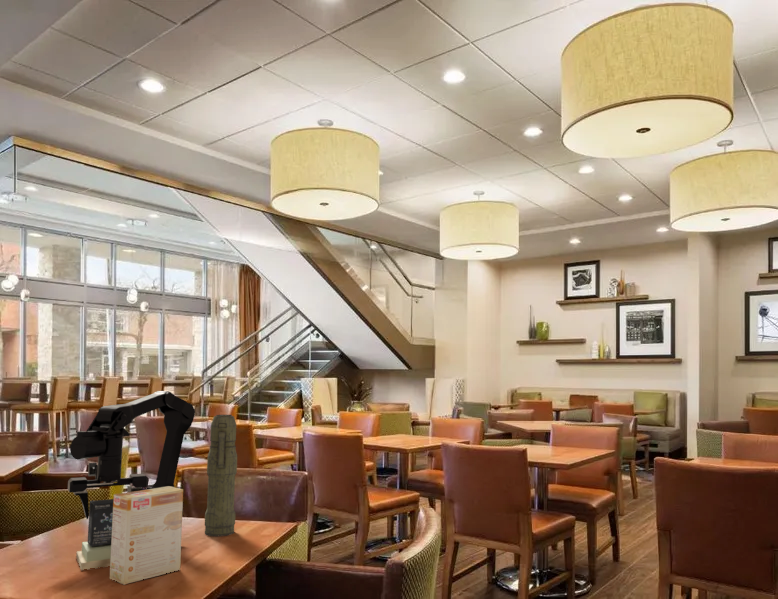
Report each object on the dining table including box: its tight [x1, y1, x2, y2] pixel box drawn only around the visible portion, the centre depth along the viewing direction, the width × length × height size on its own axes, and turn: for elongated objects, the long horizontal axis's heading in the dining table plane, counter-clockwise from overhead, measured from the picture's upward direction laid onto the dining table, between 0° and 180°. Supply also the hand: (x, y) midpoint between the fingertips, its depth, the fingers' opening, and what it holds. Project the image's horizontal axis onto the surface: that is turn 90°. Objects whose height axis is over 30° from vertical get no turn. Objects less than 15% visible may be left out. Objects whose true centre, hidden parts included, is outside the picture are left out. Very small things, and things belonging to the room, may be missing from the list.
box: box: [87, 498, 114, 547], centre depth 171 cm, size 8×6×11 cm
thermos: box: [204, 414, 238, 537], centre depth 201 cm, size 9×12×35 cm
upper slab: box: [81, 540, 111, 562], centre depth 170 cm, size 10×10×2 cm
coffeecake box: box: [109, 486, 184, 586], centre depth 160 cm, size 15×7×20 cm, turn 141°
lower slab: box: [75, 550, 111, 571], centre depth 170 cm, size 12×12×2 cm
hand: (106, 516), depth 171 cm, fingers open, 9 cm apart
